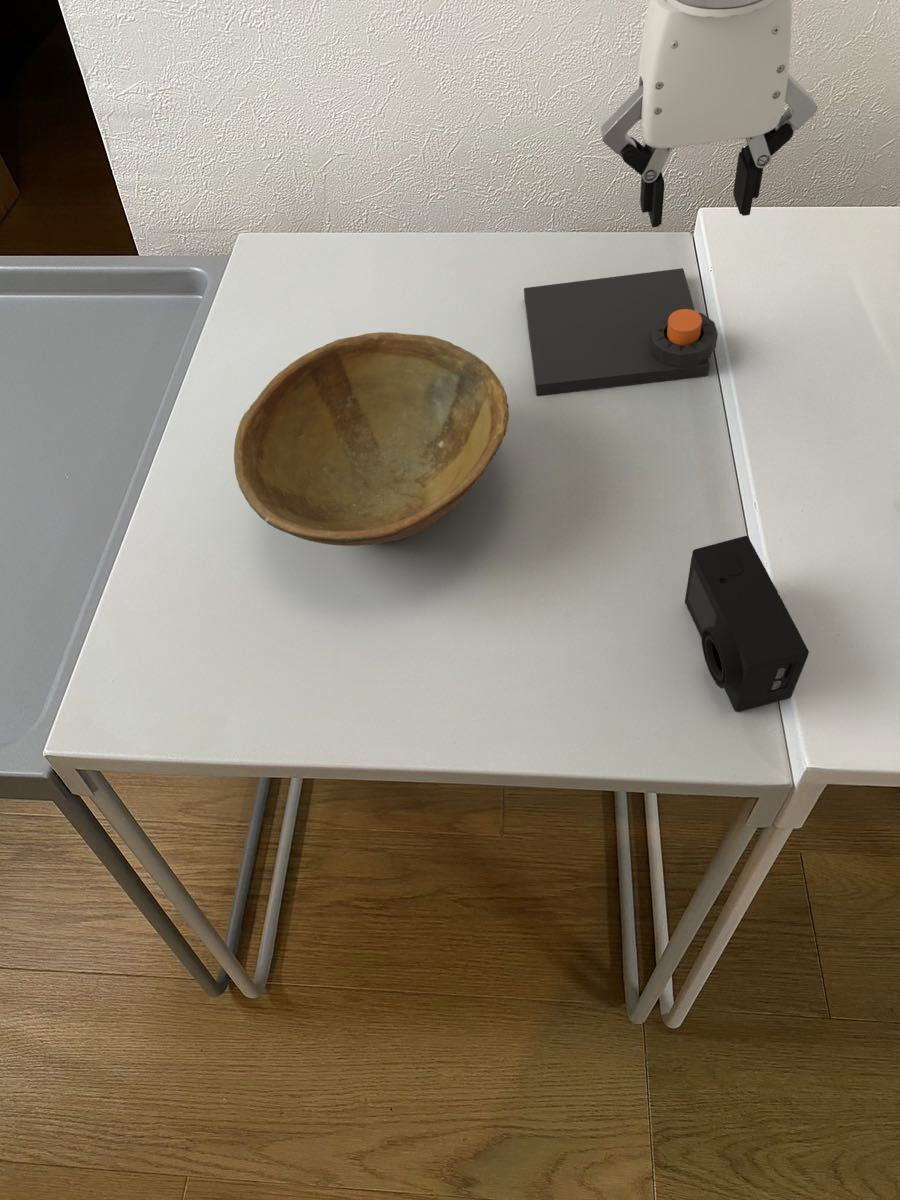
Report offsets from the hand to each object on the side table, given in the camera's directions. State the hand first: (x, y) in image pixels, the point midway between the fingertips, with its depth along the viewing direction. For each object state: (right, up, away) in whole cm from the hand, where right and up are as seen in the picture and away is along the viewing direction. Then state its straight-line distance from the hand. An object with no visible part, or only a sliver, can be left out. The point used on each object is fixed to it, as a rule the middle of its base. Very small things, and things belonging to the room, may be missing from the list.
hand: (697, 209), depth 75 cm
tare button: (+2, -7, +11) cm, 13 cm away
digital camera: (+1, -36, -4) cm, 36 cm away
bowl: (-25, -23, +8) cm, 35 cm away
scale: (-4, -6, +16) cm, 17 cm away
